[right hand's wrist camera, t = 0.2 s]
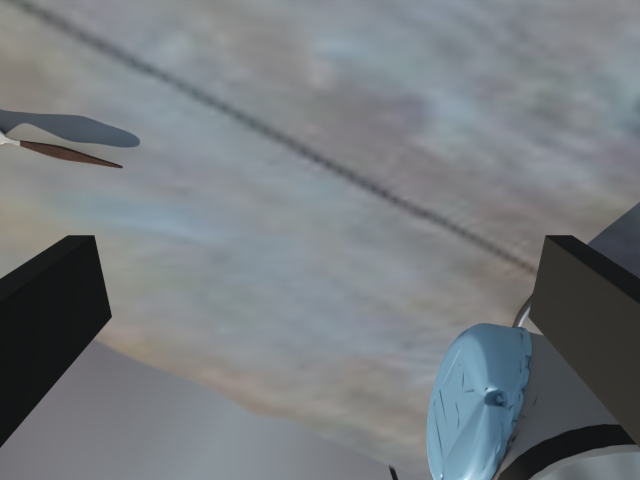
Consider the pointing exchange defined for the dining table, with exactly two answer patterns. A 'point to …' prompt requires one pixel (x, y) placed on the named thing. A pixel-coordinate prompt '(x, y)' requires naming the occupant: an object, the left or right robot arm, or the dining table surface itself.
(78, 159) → the fork
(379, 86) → the dining table surface
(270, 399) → the dining table surface
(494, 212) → the dining table surface
